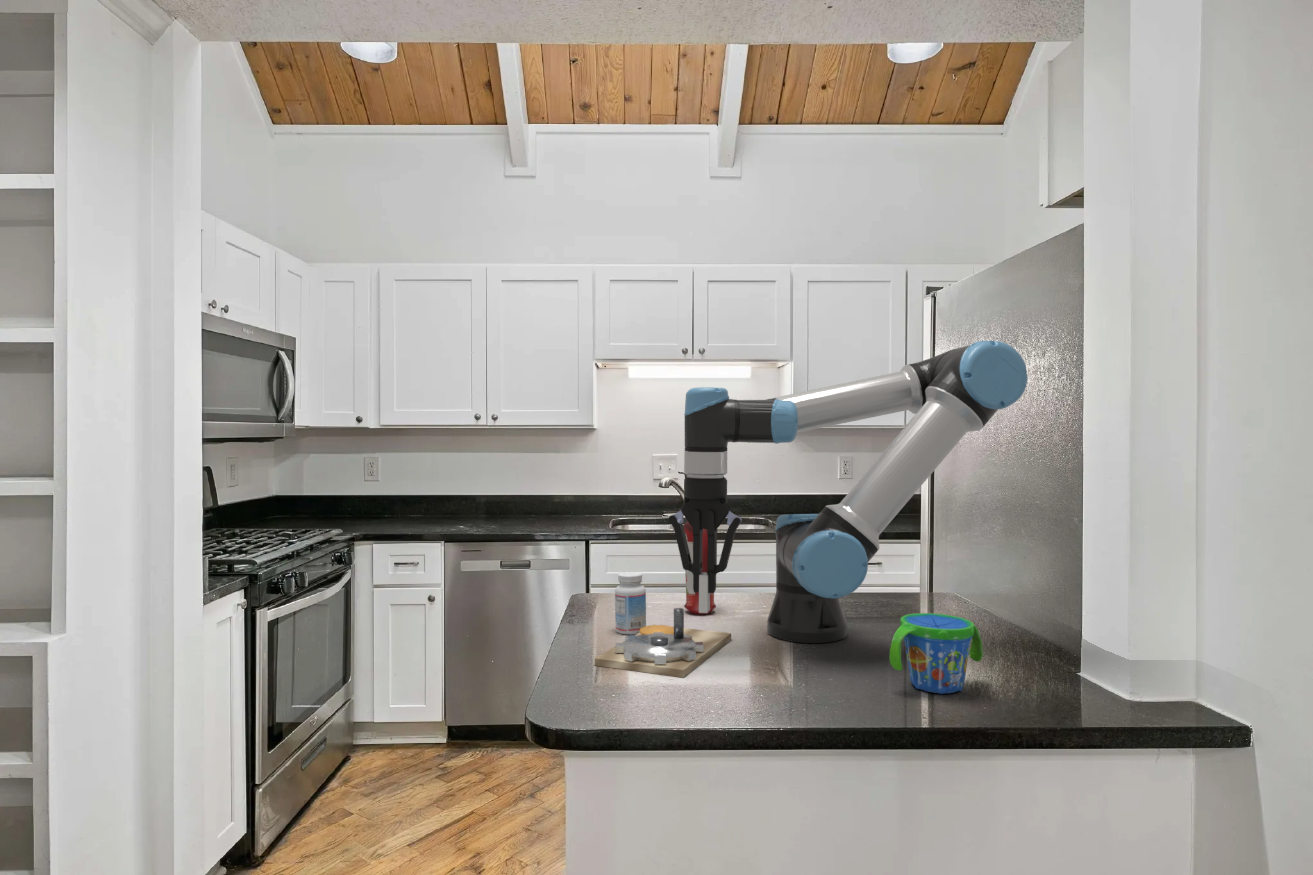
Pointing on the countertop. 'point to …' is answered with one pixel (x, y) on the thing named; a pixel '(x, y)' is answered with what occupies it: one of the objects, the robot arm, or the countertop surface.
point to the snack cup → (936, 650)
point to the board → (676, 668)
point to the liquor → (692, 596)
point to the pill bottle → (630, 603)
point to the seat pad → (657, 629)
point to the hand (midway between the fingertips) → (704, 610)
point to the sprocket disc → (661, 645)
